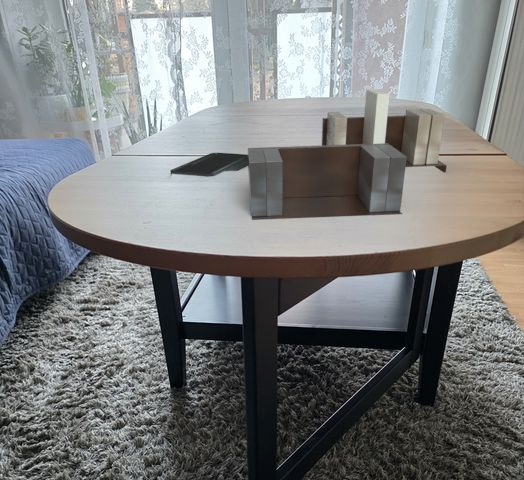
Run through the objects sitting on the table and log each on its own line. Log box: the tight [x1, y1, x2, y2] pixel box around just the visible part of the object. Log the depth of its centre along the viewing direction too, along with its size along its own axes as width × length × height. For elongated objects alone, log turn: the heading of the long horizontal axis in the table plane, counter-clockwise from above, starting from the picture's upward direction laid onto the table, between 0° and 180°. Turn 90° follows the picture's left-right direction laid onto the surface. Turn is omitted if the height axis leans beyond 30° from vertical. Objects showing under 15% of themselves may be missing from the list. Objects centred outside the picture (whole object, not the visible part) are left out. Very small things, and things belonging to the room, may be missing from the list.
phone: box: [169, 152, 248, 178], centre depth 82 cm, size 8×1×15 cm
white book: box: [362, 88, 391, 144], centre depth 78 cm, size 2×7×10 cm, turn 3°
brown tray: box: [321, 108, 447, 173], centre depth 79 cm, size 18×9×8 cm, turn 93°
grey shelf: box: [247, 143, 407, 221], centre depth 60 cm, size 17×9×7 cm, turn 93°
